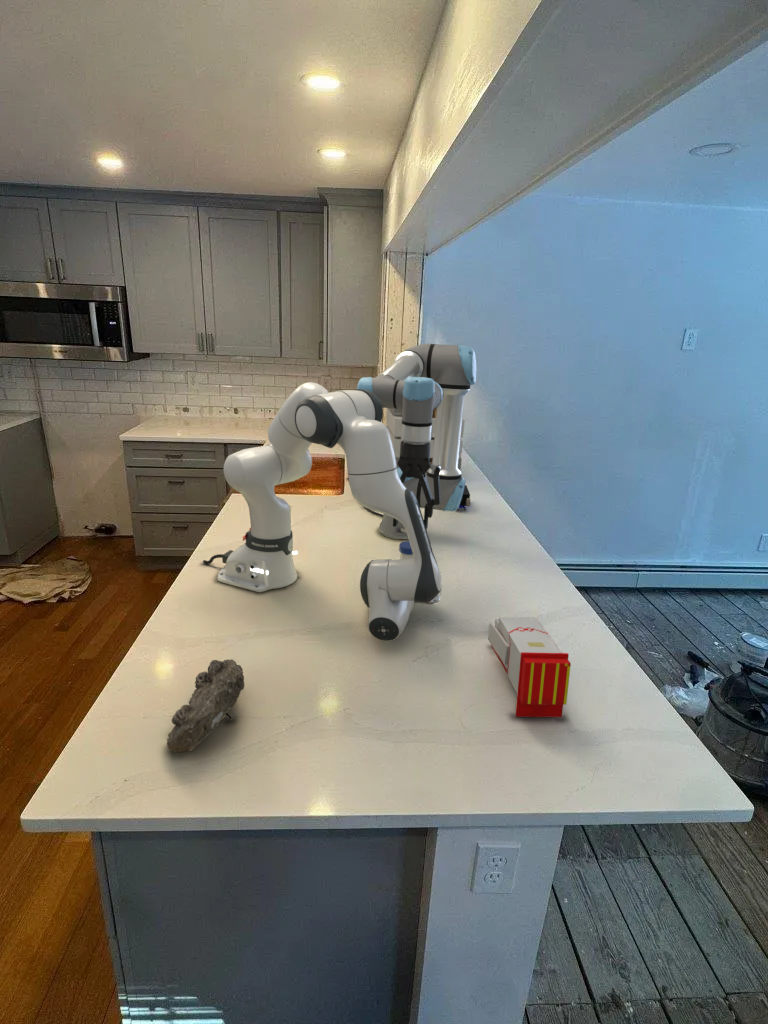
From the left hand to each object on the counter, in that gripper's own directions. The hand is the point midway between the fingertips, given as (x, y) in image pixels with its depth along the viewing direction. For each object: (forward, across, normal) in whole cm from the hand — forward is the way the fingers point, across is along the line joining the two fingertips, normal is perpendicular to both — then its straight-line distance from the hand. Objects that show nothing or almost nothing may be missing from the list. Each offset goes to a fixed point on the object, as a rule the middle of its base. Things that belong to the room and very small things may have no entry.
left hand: (407, 574), depth 155 cm
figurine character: (+82, -7, +7) cm, 82 cm away
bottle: (-1, 0, +7) cm, 7 cm away
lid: (-1, 0, -9) cm, 9 cm away
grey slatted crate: (+125, +17, +7) cm, 126 cm away
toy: (-29, -31, +6) cm, 43 cm away
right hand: (-1, 0, -14) cm, 14 cm away
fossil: (-59, +27, +7) cm, 65 cm away
